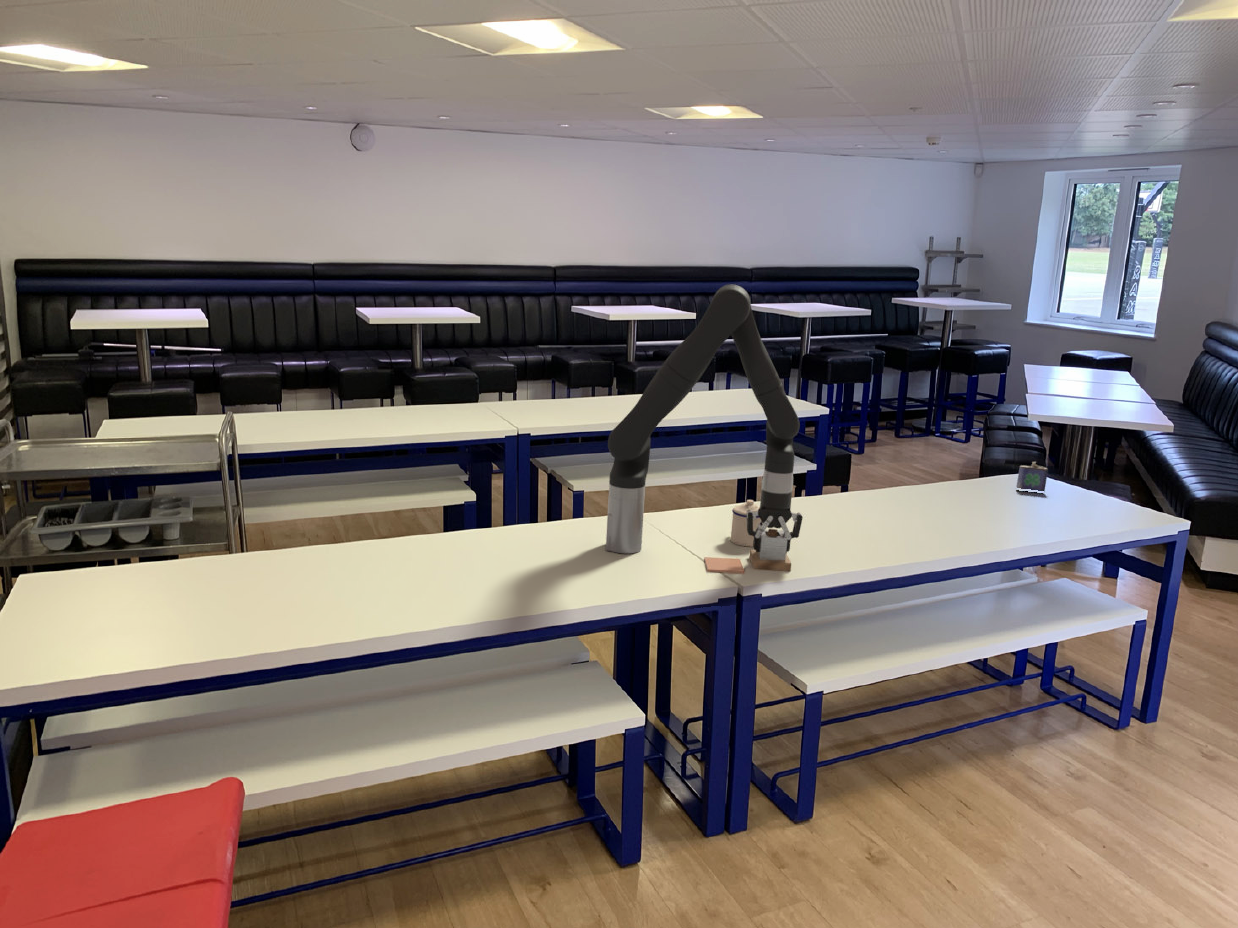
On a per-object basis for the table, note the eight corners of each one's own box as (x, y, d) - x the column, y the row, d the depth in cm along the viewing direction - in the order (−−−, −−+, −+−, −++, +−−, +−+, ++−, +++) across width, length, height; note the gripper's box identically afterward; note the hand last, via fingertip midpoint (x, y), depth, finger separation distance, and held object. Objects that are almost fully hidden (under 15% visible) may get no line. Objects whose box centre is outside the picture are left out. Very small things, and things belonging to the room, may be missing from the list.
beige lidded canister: (769, 546, 248) (773, 504, 245) (737, 548, 245) (741, 505, 243) (750, 532, 259) (754, 492, 256) (720, 534, 257) (723, 493, 254)
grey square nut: (759, 560, 231) (761, 537, 229) (755, 551, 237) (758, 529, 236) (785, 561, 231) (787, 538, 229) (780, 552, 237) (783, 530, 236)
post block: (754, 569, 230) (757, 534, 228) (749, 557, 239) (752, 523, 237) (790, 570, 230) (794, 536, 228) (784, 558, 239) (787, 525, 237)
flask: (1016, 491, 322) (1021, 461, 320) (1015, 489, 325) (1019, 459, 323) (1044, 494, 320) (1049, 464, 318) (1043, 492, 323) (1048, 462, 320)
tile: (707, 571, 226) (707, 569, 226) (704, 559, 235) (704, 557, 235) (744, 573, 226) (744, 571, 226) (739, 561, 235) (739, 558, 235)
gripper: (750, 490, 226) (744, 555, 230) (808, 493, 226) (802, 558, 230) (746, 482, 233) (740, 545, 237) (803, 485, 233) (796, 548, 237)
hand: (771, 551), depth 234 cm, fingers closed on grey square nut, 6 cm apart
